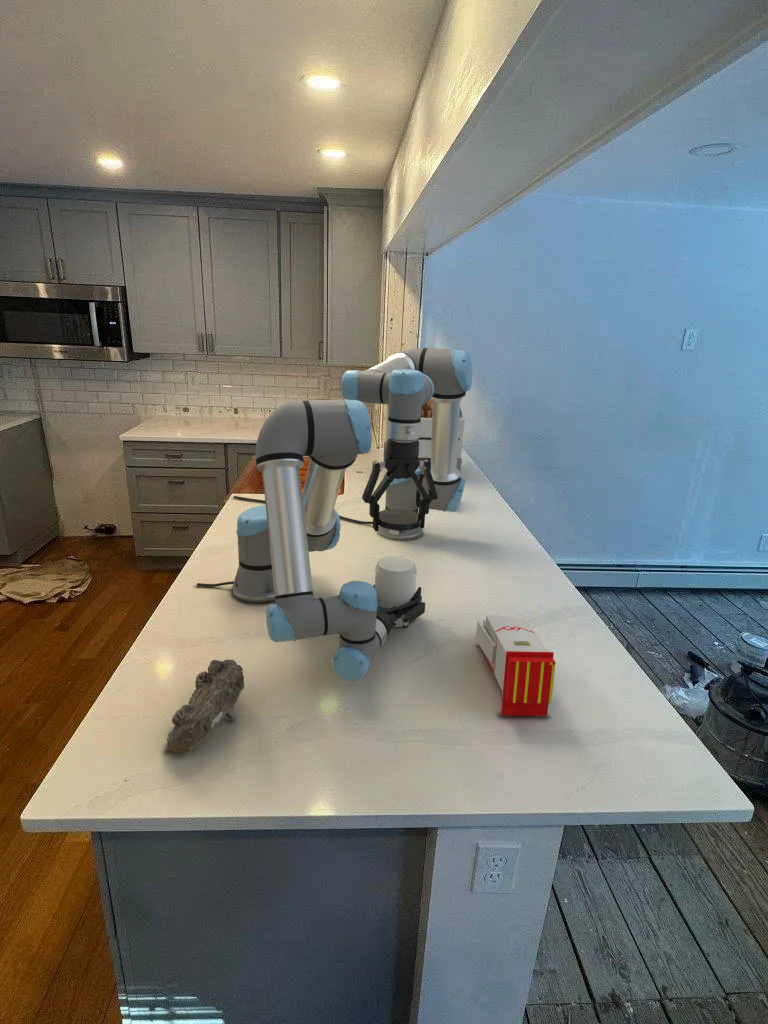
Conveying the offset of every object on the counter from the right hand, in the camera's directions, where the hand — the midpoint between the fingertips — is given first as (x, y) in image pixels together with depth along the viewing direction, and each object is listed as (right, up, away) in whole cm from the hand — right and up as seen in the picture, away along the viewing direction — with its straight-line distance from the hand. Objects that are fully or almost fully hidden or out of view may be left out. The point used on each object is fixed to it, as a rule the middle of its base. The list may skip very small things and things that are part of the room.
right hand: (398, 527), depth 138 cm
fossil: (-36, -35, -30) cm, 59 cm away
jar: (-1, -23, +8) cm, 25 cm away
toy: (+24, -32, -13) cm, 42 cm away
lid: (0, +2, -1) cm, 3 cm away
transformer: (+14, +23, +137) cm, 139 cm away
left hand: (0, -16, +10) cm, 19 cm away
